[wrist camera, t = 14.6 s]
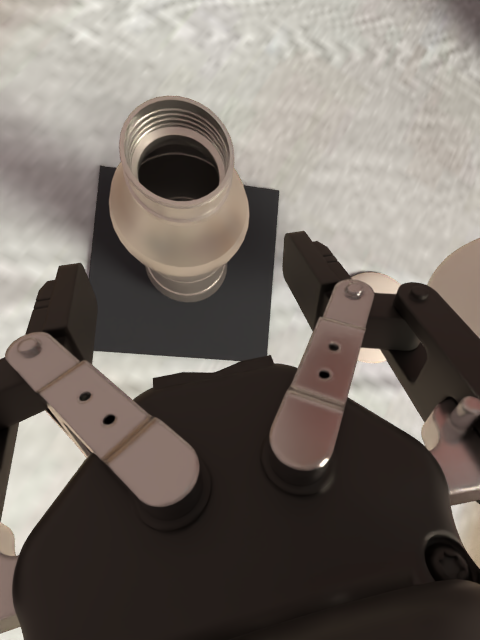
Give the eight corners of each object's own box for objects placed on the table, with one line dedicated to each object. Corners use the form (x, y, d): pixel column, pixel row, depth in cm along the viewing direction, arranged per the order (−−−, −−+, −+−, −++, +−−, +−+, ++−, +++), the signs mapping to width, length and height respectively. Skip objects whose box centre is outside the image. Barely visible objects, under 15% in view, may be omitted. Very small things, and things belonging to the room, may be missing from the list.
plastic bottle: (196, 319, 31) (206, 295, 11) (132, 274, 30) (21, 161, 10) (238, 261, 32) (317, 141, 12) (176, 216, 31) (151, 8, 11)
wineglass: (366, 254, 34) (651, 126, 13) (429, 313, 34) (797, 284, 13) (310, 321, 33) (520, 300, 12) (376, 381, 33) (685, 462, 12)
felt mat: (101, 167, 30) (100, 165, 30) (278, 191, 33) (279, 190, 32) (82, 349, 30) (81, 349, 29) (265, 362, 32) (266, 362, 32)
